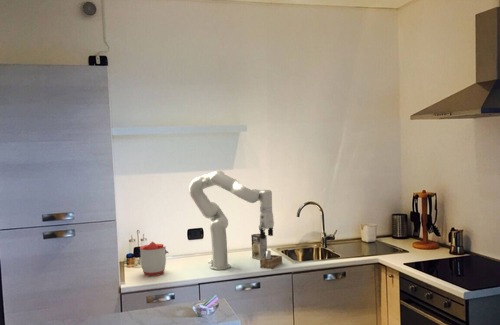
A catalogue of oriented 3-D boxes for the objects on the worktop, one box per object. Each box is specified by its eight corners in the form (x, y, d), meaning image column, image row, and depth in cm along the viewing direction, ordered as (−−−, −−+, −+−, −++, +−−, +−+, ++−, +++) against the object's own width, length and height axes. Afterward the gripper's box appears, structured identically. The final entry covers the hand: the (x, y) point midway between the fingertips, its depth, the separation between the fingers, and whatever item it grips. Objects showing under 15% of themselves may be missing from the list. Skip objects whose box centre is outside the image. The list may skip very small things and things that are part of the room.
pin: (265, 267, 292) (264, 251, 291) (267, 266, 294) (267, 250, 294) (269, 267, 290) (269, 251, 290) (272, 266, 293) (271, 250, 292)
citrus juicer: (172, 274, 285) (170, 241, 284) (143, 278, 278) (141, 245, 277) (166, 268, 299) (164, 237, 298) (139, 272, 292) (137, 241, 292)
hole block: (260, 267, 291) (260, 259, 291) (271, 262, 303) (270, 254, 303) (271, 269, 287) (271, 260, 287) (282, 263, 299) (281, 255, 299)
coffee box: (251, 258, 316) (250, 234, 316) (259, 256, 320) (258, 233, 319) (260, 260, 309) (259, 236, 308) (267, 258, 313) (266, 234, 312)
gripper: (264, 212, 281) (265, 240, 282) (278, 208, 296) (278, 235, 297) (253, 211, 285) (254, 239, 286) (267, 207, 300) (268, 234, 301)
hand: (266, 237), depth 291 cm, fingers open, 9 cm apart
